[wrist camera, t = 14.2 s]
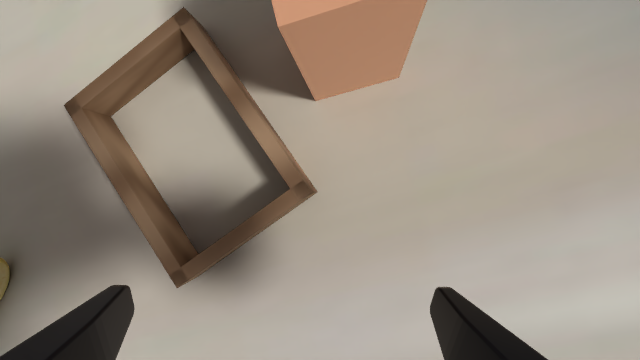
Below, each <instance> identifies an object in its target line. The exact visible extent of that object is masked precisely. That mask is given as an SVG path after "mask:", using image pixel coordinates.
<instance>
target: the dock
mask: <svg viewBox="0 0 640 360" xmlns="http://www.w3.org/2000/svg"><path fill="white" fill-rule="evenodd" d="M194 49H195V50H196V52H197V53H198V55H199V56H200V58H201V59H202V60H203V62H204V63H205V65H206V66H207V68H208V69H209V71H210V72H211V74H212V75H213V77H214V78H215V79H216V81H217V82H218V84H219V85H220V87H221V88H222V90H223V91H224V93H225V94H226V96H227V97H228V98H229V100H230V101H231V103H232V104H233V106H234V107H235V109H236V110H237V112H238V113H239V115H240V116H241V117H242V119H243V120H244V122H245V123H246V125H247V126H248V128H249V129H250V131H251V132H252V134H253V135H254V136H255V138H256V139H257V141H258V142H259V144H260V145H261V147H262V148H263V150H264V151H265V153H266V154H267V155H268V157H269V158H270V160H271V161H272V163H273V164H274V166H275V167H276V169H277V170H278V171H279V173H280V174H281V176H282V177H283V179H284V180H285V182H286V183H287V185H288V186H289V188H290V189H289V190H288V191H286V192H285V193H284V194H282V195H281V196H279V197H278V198H277V199H275V200H274V201H273V202H271V203H270V204H268V205H267V206H266V207H264V208H263V209H261V210H260V211H259V212H257V213H256V214H254V215H253V216H252V217H250V218H249V219H247V220H246V221H245V222H243V223H242V224H240V225H239V226H238V227H236V228H235V229H233V230H232V231H231V232H229V233H228V234H226V235H225V236H224V237H222V238H221V239H219V240H218V241H217V242H215V243H214V244H212V245H211V246H210V247H208V248H207V249H205V250H204V251H203V252H201V253H200V254H198V253H197V252H196V250H195V248H194V247H193V245H192V244H191V242H190V241H189V239H188V237H187V236H186V234H185V233H184V231H183V230H182V228H181V226H180V225H179V223H178V222H177V220H176V219H175V217H174V215H173V214H172V212H171V211H170V209H169V208H168V206H167V204H166V203H165V201H164V200H163V198H162V196H161V195H160V193H159V192H158V190H157V189H156V187H155V185H154V184H153V182H152V181H151V179H150V178H149V176H148V174H147V173H146V171H145V170H144V168H143V167H142V165H141V163H140V162H139V160H138V159H137V157H136V156H135V154H134V152H133V151H132V149H131V148H130V146H129V144H128V143H127V141H126V140H125V138H124V137H123V135H122V133H121V132H120V130H119V129H118V127H117V126H116V124H115V122H114V121H113V119H112V118H111V116H112V115H113V114H114V113H115V112H117V111H118V110H119V109H120V108H122V107H123V106H124V105H125V104H127V103H128V102H129V101H131V100H132V99H133V98H134V97H136V96H137V95H138V94H139V93H141V92H142V91H143V90H144V89H146V88H147V87H148V86H149V85H151V84H152V83H153V82H154V81H156V80H157V79H158V78H159V77H161V76H162V75H163V74H164V73H166V72H167V71H168V70H169V69H171V68H172V67H173V66H174V65H176V64H177V63H178V62H179V61H181V60H182V59H183V58H184V57H186V56H187V55H188V54H189V53H191V52H192V51H193V50H194ZM64 106H65V108H66V110H67V111H68V113H69V115H70V116H71V118H72V119H73V121H74V123H75V124H76V126H77V127H78V129H79V131H80V132H81V134H82V136H83V137H84V139H85V140H86V142H87V144H88V145H89V147H90V148H91V150H92V152H93V153H94V155H95V157H96V158H97V160H98V161H99V163H100V165H101V166H102V168H103V169H104V171H105V173H106V174H107V176H108V178H109V179H110V181H111V182H112V184H113V186H114V187H115V189H116V190H117V192H118V194H119V195H120V197H121V199H122V200H123V202H124V203H125V205H126V207H127V208H128V210H129V211H130V213H131V215H132V216H133V218H134V220H135V221H136V223H137V224H138V226H139V228H140V229H141V231H142V232H143V234H144V236H145V237H146V239H147V240H148V242H149V244H150V245H151V247H152V249H153V250H154V252H155V253H156V255H157V257H158V258H159V260H160V261H161V263H162V265H163V266H164V268H165V270H166V271H167V273H168V274H169V276H170V278H171V279H172V281H173V282H174V284H175V286H176V287H177V288H178V287H180V286H182V285H184V284H186V283H187V282H189V281H191V280H193V279H195V278H196V277H198V276H199V275H201V274H202V273H204V272H205V271H206V270H208V269H209V268H211V267H212V266H214V265H215V264H216V263H218V262H219V261H221V260H222V259H223V258H225V257H226V256H228V255H229V254H230V253H232V252H233V251H235V250H236V249H238V248H239V247H240V246H242V245H243V244H245V243H246V242H247V241H249V240H250V239H252V238H253V237H255V236H256V235H257V234H259V233H260V232H262V231H263V230H264V229H266V228H267V227H269V226H270V225H272V224H273V223H274V222H276V221H277V220H279V219H280V218H281V217H283V216H284V215H286V214H287V213H289V212H290V211H291V210H293V209H294V208H296V207H297V206H298V205H300V204H301V203H303V202H304V201H305V200H307V199H308V198H310V197H311V196H313V195H314V194H315V193H317V190H316V189H315V188H314V186H313V185H312V183H311V182H310V180H309V179H308V177H307V176H306V175H305V173H304V172H303V170H302V169H301V167H300V166H299V164H298V163H297V162H296V160H295V159H294V157H293V156H292V154H291V153H290V152H289V150H288V149H287V147H286V146H285V144H284V143H283V141H282V140H281V139H280V137H279V136H278V134H277V133H276V131H275V130H274V128H273V127H272V126H271V124H270V123H269V121H268V120H267V118H266V117H265V115H264V114H263V113H262V111H261V110H260V108H259V107H258V105H257V104H256V103H255V101H254V100H253V98H252V97H251V95H250V94H249V92H248V91H247V90H246V88H245V87H244V85H243V84H242V82H241V81H240V79H239V78H238V77H237V75H236V74H235V72H234V71H233V69H232V68H231V66H230V65H229V64H228V62H227V61H226V59H225V58H224V56H223V55H222V54H221V52H220V51H219V49H218V48H217V46H216V45H215V43H214V42H213V41H212V39H211V38H210V36H209V35H208V33H207V32H206V30H205V29H204V28H203V26H202V25H201V24H200V23H199V22H198V21H197V20H196V19H195V18H194V17H193V16H192V15H191V14H190V13H189V12H188V11H187V10H186V9H185V8H184V7H183V8H182V9H181V10H180V11H178V12H177V13H176V14H175V15H173V16H172V17H171V18H170V19H169V20H167V21H166V22H165V23H164V24H162V25H161V26H160V27H159V28H158V29H156V30H155V31H154V32H153V33H151V34H150V35H149V36H148V37H147V38H145V39H144V40H143V41H142V42H140V43H139V44H138V45H137V46H136V47H134V48H133V49H132V50H131V51H129V52H128V53H127V54H126V55H125V56H123V57H122V58H121V59H120V60H118V61H117V62H116V63H115V64H114V65H112V66H111V67H110V68H109V69H107V70H106V71H105V72H104V73H103V74H101V75H100V76H99V77H98V78H96V79H95V80H94V81H93V82H92V83H90V84H89V85H88V86H87V87H85V88H84V89H83V90H82V91H81V92H79V93H78V94H77V95H76V96H74V97H73V98H72V99H71V100H70V101H68V102H67V103H66V104H65V105H64Z"/></svg>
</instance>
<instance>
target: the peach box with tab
mask: <svg viewBox="0 0 640 360" xmlns="http://www.w3.org/2000/svg"><path fill="white" fill-rule="evenodd" d="M426 2H427V0H272V5H273V9H274V13H275V17H276V21H277V25H278V28H279V30H280V32H281V34H282V36H283V38H284V40H285V42H286V44H287V46H288V48H289V50H290V52H291V54H292V56H293V58H294V60H295V62H296V64H297V66H298V68H299V70H300V72H301V74H302V76H303V78H304V79H305V81H306V83H307V85H308V87H309V89H310V91H311V93H312V95H313V97H314V99H315V101H318V100H321V99H325V98H328V97H332V96H335V95H339V94H342V93H346V92H349V91H353V90H357V89H360V88H364V87H367V86H371V85H374V84H378V83H381V82H385V81H388V80H392V79H395V78H399V76H400V73H401V70H402V68H403V65H404V62H405V60H406V57H407V54H408V51H409V49H410V46H411V43H412V40H413V38H414V35H415V32H416V29H417V27H418V24H419V21H420V18H421V16H422V13H423V10H424V8H425V5H426Z"/></svg>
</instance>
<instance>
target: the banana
mask: <svg viewBox="0 0 640 360" xmlns="http://www.w3.org/2000/svg"><path fill="white" fill-rule="evenodd" d="M9 276H10V270H9V266H8V264H7V262H6V261H5V260H4V259H3V258H0V300H1V299H2V297H3V295H4V293H5V290H6V288H7V285H8V282H9Z"/></svg>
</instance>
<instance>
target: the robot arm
mask: <svg viewBox="0 0 640 360" xmlns="http://www.w3.org/2000/svg"><path fill="white" fill-rule="evenodd" d="M133 314H134V303H133V299H132V294H131V290H130V287H129V286H127V285H112V286H110V287H108V288H107V289H105V290H104V291H102V292H100V293H99V294H97V295H96V296H94V297H93V298H91V299H89V300H88V301H86V302H85V303H83V304H82V305H80V306H79V307H77V308H75V309H74V310H72V311H71V312H69V313H68V314H66V315H64V316H63V317H61V318H60V319H58V320H57V321H55V322H54V323H52V324H50V325H49V326H47V327H46V328H44V329H43V330H41V331H39V332H38V333H36V334H35V335H33V336H32V337H30V338H28V339H27V340H25V341H24V342H22V343H21V344H19V345H18V346H16V347H14V348H13V349H11V350H10V351H8V352H7V353H5V354H3V355H2V356H0V360H116V357H117V355H118V352H119V350H120V347H121V345H122V342H123V340H124V337H125V335H126V332H127V330H128V327H129V325H130V322H131V320H132V317H133ZM430 314H431V318H432V321H433V324H434V327H435V331H436V334H437V337H438V341H439V344H440V347H441V351H442V354H443V357H444V360H548V359H546V358H545V357H544V356H542V355H541V354H540V353H538V352H537V351H536V350H534V349H533V348H532V347H530V346H529V345H527V344H526V343H525V342H523V341H522V340H521V339H519V338H518V337H517V336H515V335H514V334H513V333H511V332H510V331H509V330H507V329H506V328H505V327H503V326H502V325H501V324H499V323H498V322H497V321H495V320H494V319H492V318H491V317H490V316H488V315H487V314H486V313H484V312H483V311H482V310H480V309H479V308H478V307H476V306H475V305H474V304H472V303H471V302H470V301H468V300H467V299H466V298H464V297H463V296H461V295H460V294H459V293H457V292H456V291H455V290H453V289H452V288H450V287H438V288H436V290H435V292H434V296H433V299H432V302H431V305H430Z"/></svg>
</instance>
